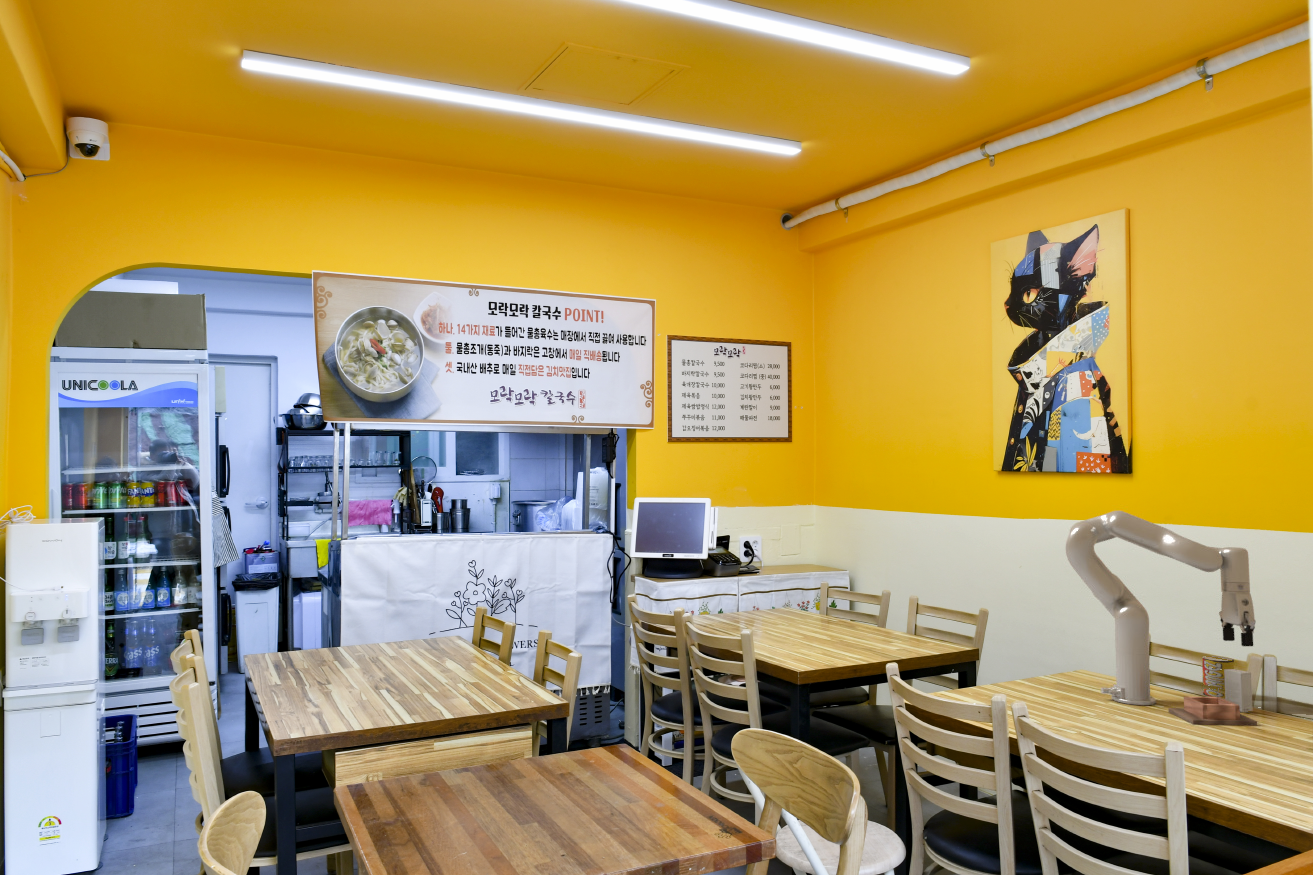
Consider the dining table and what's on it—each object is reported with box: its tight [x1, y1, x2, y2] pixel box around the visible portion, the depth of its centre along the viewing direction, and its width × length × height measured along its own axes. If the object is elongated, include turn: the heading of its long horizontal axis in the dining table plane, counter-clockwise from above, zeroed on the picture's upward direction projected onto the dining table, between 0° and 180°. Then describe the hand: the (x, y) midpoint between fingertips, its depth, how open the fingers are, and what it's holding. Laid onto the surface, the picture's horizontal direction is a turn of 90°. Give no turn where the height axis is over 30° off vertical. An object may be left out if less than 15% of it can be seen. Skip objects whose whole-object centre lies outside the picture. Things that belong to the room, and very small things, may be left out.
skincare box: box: [1224, 668, 1253, 713], centre depth 279 cm, size 6×4×12 cm
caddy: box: [1167, 696, 1258, 726], centre depth 269 cm, size 18×14×5 cm
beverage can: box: [1201, 655, 1235, 699], centre depth 299 cm, size 9×9×12 cm
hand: (1238, 643), depth 280 cm, fingers open, 9 cm apart
